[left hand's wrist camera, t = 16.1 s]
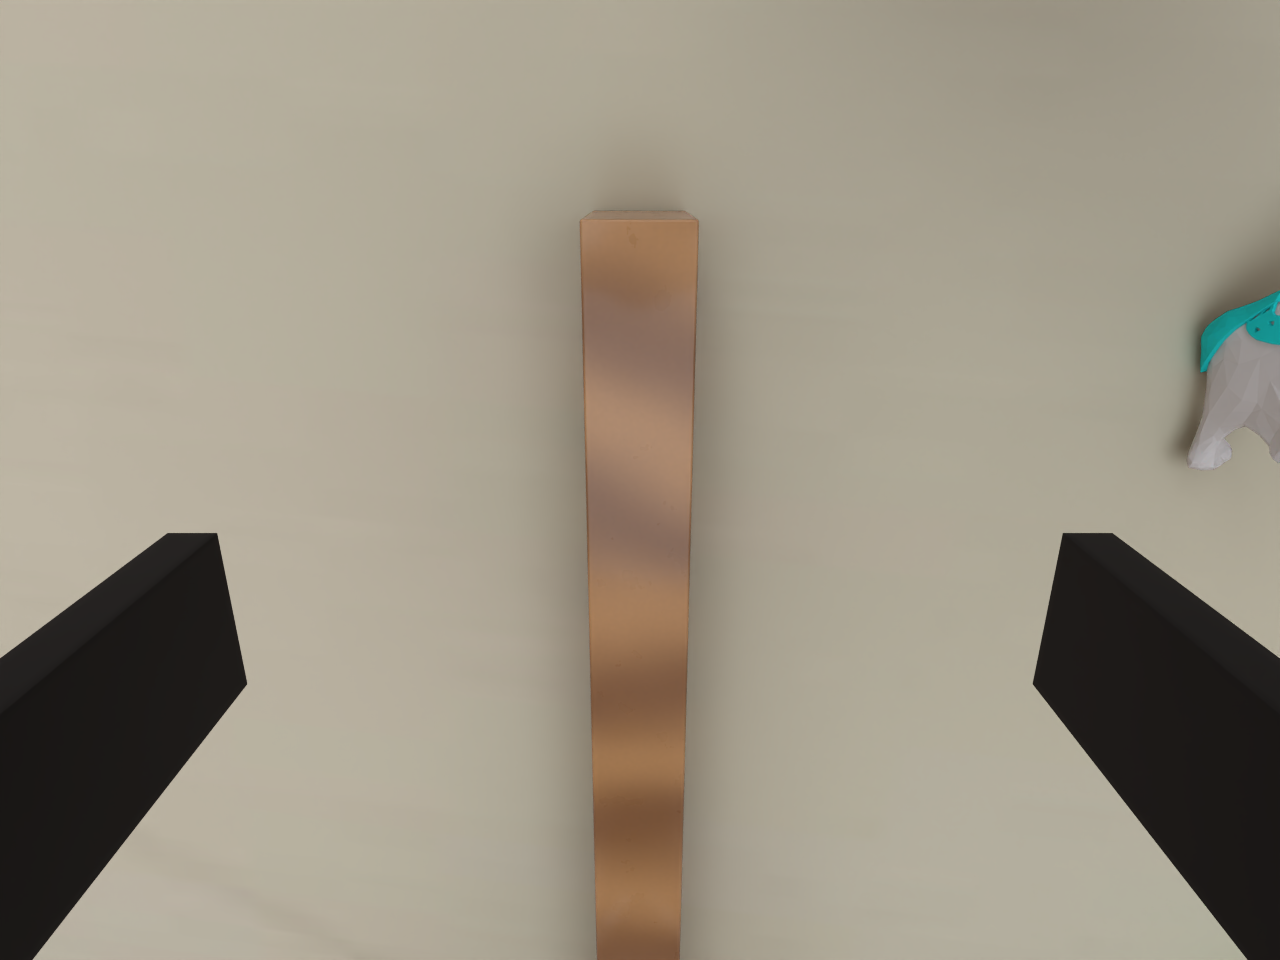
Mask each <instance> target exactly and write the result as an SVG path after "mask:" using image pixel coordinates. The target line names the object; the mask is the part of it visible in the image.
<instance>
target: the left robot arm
mask: <svg viewBox="0 0 1280 960" xmlns="http://www.w3.org/2000/svg"><path fill="white" fill-rule="evenodd" d="M246 685H247V680H246V675H245V670H244V665H243V660H242V655H241V650H240V645H239V640H238V635H237V630H236V625H235V620H234V615H233V610H232V605H231V600H230V595H229V590H228V585H227V580H226V575H225V570H224V565H223V560H222V555H221V550H220V545H219V540H218V535H217V533H167V534H166V535H165V536H163V537H162V538H161V539H159V540H158V541H157V542H155V543H154V544H153V545H151V546H150V547H149V548H147V549H146V550H145V551H143V552H142V553H141V554H139V555H138V556H137V557H135V558H134V559H133V560H131V561H130V562H129V563H127V564H126V565H124V566H123V567H122V568H120V569H119V570H118V571H116V572H115V573H114V574H112V575H111V576H110V577H108V578H107V579H106V580H104V581H103V582H102V583H100V584H99V585H98V586H96V587H95V588H94V589H92V590H91V591H90V592H88V593H87V594H86V595H84V596H83V597H82V598H80V599H79V600H78V601H76V602H75V603H74V604H72V605H71V606H70V607H68V608H67V609H66V610H64V611H63V612H62V613H60V614H59V615H58V616H56V617H55V618H54V619H52V620H51V621H50V622H48V623H47V624H46V625H44V626H43V627H42V628H40V629H39V630H38V631H36V632H35V633H34V634H32V635H31V636H30V637H28V638H27V639H26V640H24V641H23V642H22V643H20V644H19V645H18V646H16V647H15V648H14V649H12V650H11V651H9V652H8V653H7V654H5V655H4V656H3V657H1V658H0V960H33V958H34V957H35V956H36V955H37V953H38V952H39V951H40V949H41V948H42V947H43V946H44V944H45V943H46V942H47V940H48V939H49V938H50V937H51V935H52V934H53V933H54V931H55V930H56V929H57V928H58V926H59V925H60V924H61V922H62V921H63V920H64V919H65V917H66V916H67V915H68V913H69V912H70V911H71V910H72V908H73V907H74V906H75V904H76V903H77V902H78V901H79V899H80V898H81V897H82V895H83V894H84V893H85V892H86V890H87V889H88V888H89V886H90V885H91V884H92V883H93V881H94V880H95V879H96V878H97V876H98V875H99V874H100V872H101V871H102V870H103V869H104V867H105V866H106V865H107V863H108V862H109V861H110V860H111V858H112V857H113V856H114V854H115V853H116V852H117V851H118V849H119V848H120V847H121V845H122V844H123V843H124V842H125V840H126V839H127V838H128V836H129V835H130V834H131V833H132V831H133V830H134V829H135V827H136V826H137V825H138V824H139V822H140V821H141V820H142V818H143V817H144V816H145V815H146V813H147V812H148V811H149V809H150V808H151V807H152V806H153V804H154V803H155V802H156V801H157V799H158V798H159V797H160V795H161V794H162V793H163V792H164V790H165V789H166V788H167V786H168V785H169V784H170V783H171V781H172V780H173V779H174V777H175V776H176V775H177V774H178V772H179V771H180V770H181V768H182V767H183V766H184V765H185V763H186V762H187V761H188V759H189V758H190V757H191V756H192V754H193V753H194V752H195V750H196V749H197V748H198V747H199V745H200V744H201V743H202V741H203V740H204V739H205V738H206V736H207V735H208V734H209V732H210V731H211V730H212V729H213V727H214V726H215V725H216V723H217V722H218V721H219V720H220V718H221V717H222V716H223V715H224V713H225V712H226V711H227V709H228V708H229V707H230V706H231V704H232V703H233V702H234V700H235V699H236V698H237V697H238V695H239V694H240V693H241V691H242V690H243V689H244V688H245V686H246ZM1033 685H1034V686H1035V688H1036V689H1037V690H1038V691H1039V693H1040V694H1041V695H1042V697H1043V698H1044V699H1045V700H1046V702H1047V703H1048V704H1049V706H1050V707H1051V708H1052V709H1053V711H1054V712H1055V713H1056V715H1057V716H1058V717H1059V718H1060V720H1061V721H1062V722H1063V723H1064V725H1065V726H1066V727H1067V729H1068V730H1069V731H1070V732H1071V734H1072V735H1073V736H1074V738H1075V739H1076V740H1077V741H1078V743H1079V744H1080V745H1081V747H1082V748H1083V749H1084V750H1085V752H1086V753H1087V754H1088V756H1089V757H1090V758H1091V759H1092V761H1093V762H1094V763H1095V765H1096V766H1097V767H1098V768H1099V770H1100V771H1101V772H1102V774H1103V775H1104V776H1105V777H1106V779H1107V780H1108V781H1109V783H1110V784H1111V785H1112V786H1113V788H1114V789H1115V790H1116V792H1117V793H1118V794H1119V795H1120V797H1121V798H1122V799H1123V801H1124V802H1125V803H1126V804H1127V806H1128V807H1129V808H1130V809H1131V811H1132V812H1133V813H1134V815H1135V816H1136V817H1137V818H1138V820H1139V821H1140V822H1141V824H1142V825H1143V826H1144V827H1145V829H1146V830H1147V831H1148V833H1149V834H1150V835H1151V836H1152V838H1153V839H1154V840H1155V842H1156V843H1157V844H1158V845H1159V847H1160V848H1161V849H1162V851H1163V852H1164V853H1165V854H1166V856H1167V857H1168V858H1169V860H1170V861H1171V862H1172V863H1173V865H1174V866H1175V867H1176V869H1177V870H1178V871H1179V872H1180V874H1181V875H1182V876H1183V878H1184V879H1185V880H1186V881H1187V883H1188V884H1189V885H1190V886H1191V888H1192V889H1193V890H1194V892H1195V893H1196V894H1197V895H1198V897H1199V898H1200V899H1201V901H1202V902H1203V903H1204V904H1205V906H1206V907H1207V908H1208V910H1209V911H1210V912H1211V913H1212V915H1213V916H1214V917H1215V919H1216V920H1217V921H1218V922H1219V924H1220V925H1221V926H1222V928H1223V929H1224V930H1225V931H1226V933H1227V934H1228V935H1229V937H1230V938H1231V939H1232V940H1233V942H1234V943H1235V944H1236V946H1237V947H1238V948H1239V949H1240V951H1241V952H1242V953H1243V955H1244V956H1245V957H1246V958H1247V960H1280V658H1279V657H1277V656H1276V655H1275V654H1273V653H1272V652H1271V651H1269V650H1268V649H1266V648H1265V647H1264V646H1262V645H1261V644H1260V643H1258V642H1257V641H1256V640H1254V639H1253V638H1252V637H1250V636H1249V635H1248V634H1246V633H1245V632H1244V631H1242V630H1241V629H1240V628H1238V627H1237V626H1236V625H1234V624H1233V623H1232V622H1230V621H1229V620H1228V619H1226V618H1225V617H1224V616H1222V615H1221V614H1220V613H1218V612H1217V611H1216V610H1214V609H1213V608H1212V607H1210V606H1209V605H1208V604H1206V603H1205V602H1204V601H1202V600H1201V599H1200V598H1198V597H1197V596H1196V595H1194V594H1193V593H1192V592H1190V591H1189V590H1188V589H1186V588H1185V587H1184V586H1182V585H1181V584H1180V583H1178V582H1177V581H1176V580H1174V579H1173V578H1172V577H1170V576H1169V575H1168V574H1166V573H1165V572H1164V571H1162V570H1161V569H1160V568H1158V567H1157V566H1156V565H1154V564H1153V563H1151V562H1150V561H1149V560H1147V559H1146V558H1145V557H1143V556H1142V555H1141V554H1139V553H1138V552H1137V551H1135V550H1134V549H1133V548H1131V547H1130V546H1129V545H1127V544H1126V543H1125V542H1123V541H1122V540H1121V539H1119V538H1118V537H1117V536H1115V535H1114V534H1113V533H1063V535H1062V540H1061V545H1060V550H1059V555H1058V560H1057V565H1056V570H1055V575H1054V580H1053V585H1052V590H1051V595H1050V600H1049V605H1048V610H1047V615H1046V620H1045V625H1044V630H1043V635H1042V640H1041V645H1040V650H1039V655H1038V660H1037V665H1036V670H1035V675H1034V680H1033Z"/></svg>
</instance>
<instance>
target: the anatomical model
mask: <svg viewBox="0 0 1280 960" xmlns="http://www.w3.org/2000/svg"><path fill="white" fill-rule="evenodd" d="M1206 371H1207V386H1206V393H1205V400H1204V407H1203V413H1202V418H1201V421H1200V424H1199V427H1198V430H1197V432H1196V435H1195V437H1194V440H1193V442H1192V444H1191V447H1190V449H1189V452H1188V456H1187V464H1188V467H1189V468H1194V469H1198V470H1214V469H1216V468H1217V467H1219V466H1220V465H1222V464H1223V463H1224V462H1226V461H1228V460H1229V459H1230V458H1231V456H1232V449H1231V446H1230V445H1229V443H1228V442H1227V441H1226V440H1225V439H1224V437H1226V436H1227V435H1228V434H1230V433H1231V432H1232V431H1233V430H1235V429H1237V428H1241V427H1248V428H1249V429H1251V430H1252V431H1254V432H1255V433H1257V434H1258V435H1259V436H1260V437H1261V438H1262V439H1263V440H1264V441H1265V442H1266V443H1267V445H1268V446H1269V450H1270V455H1271V457H1272V458H1273V459H1274V460H1275V461H1276V462H1277V463H1280V290H1279V291H1277V292H1275V293H1273V294H1271V295H1269V296H1267V297H1265V298H1263V299H1261V300H1259V301H1256V302H1253V303H1251V304H1248V305H1245V306H1242V307H1239V308H1236V309H1233V310H1230V311H1227V312H1226V313H1224V314H1223V315H1221V316H1220V317H1218V318H1216V319H1215V320H1214V321H1213V322H1211V323H1210V324H1209V325H1208V326H1207V327H1206V329H1205V331H1204V332H1203V334H1202V336H1201V360H1200V372H1206Z"/></svg>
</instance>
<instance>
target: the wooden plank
mask: <svg viewBox="0 0 1280 960" xmlns="http://www.w3.org/2000/svg"><path fill="white" fill-rule="evenodd" d="M698 234H699V221H698V220H697V219H696V218H694V217H693V216H691V215H690V214H689V213H687V212H686V211H593V212H591V213H590V214H589V215H587V216H586V217H584V218H583V219H581V220H580V249H581V293H582V336H583V379H584V422H585V466H586V509H587V552H588V595H589V639H590V682H591V725H592V768H593V812H594V855H595V898H596V941H597V960H680V926H681V887H682V849H683V810H684V772H685V733H686V695H687V657H688V618H689V580H690V541H691V503H692V464H693V426H694V388H695V349H696V311H697V272H698Z"/></svg>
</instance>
